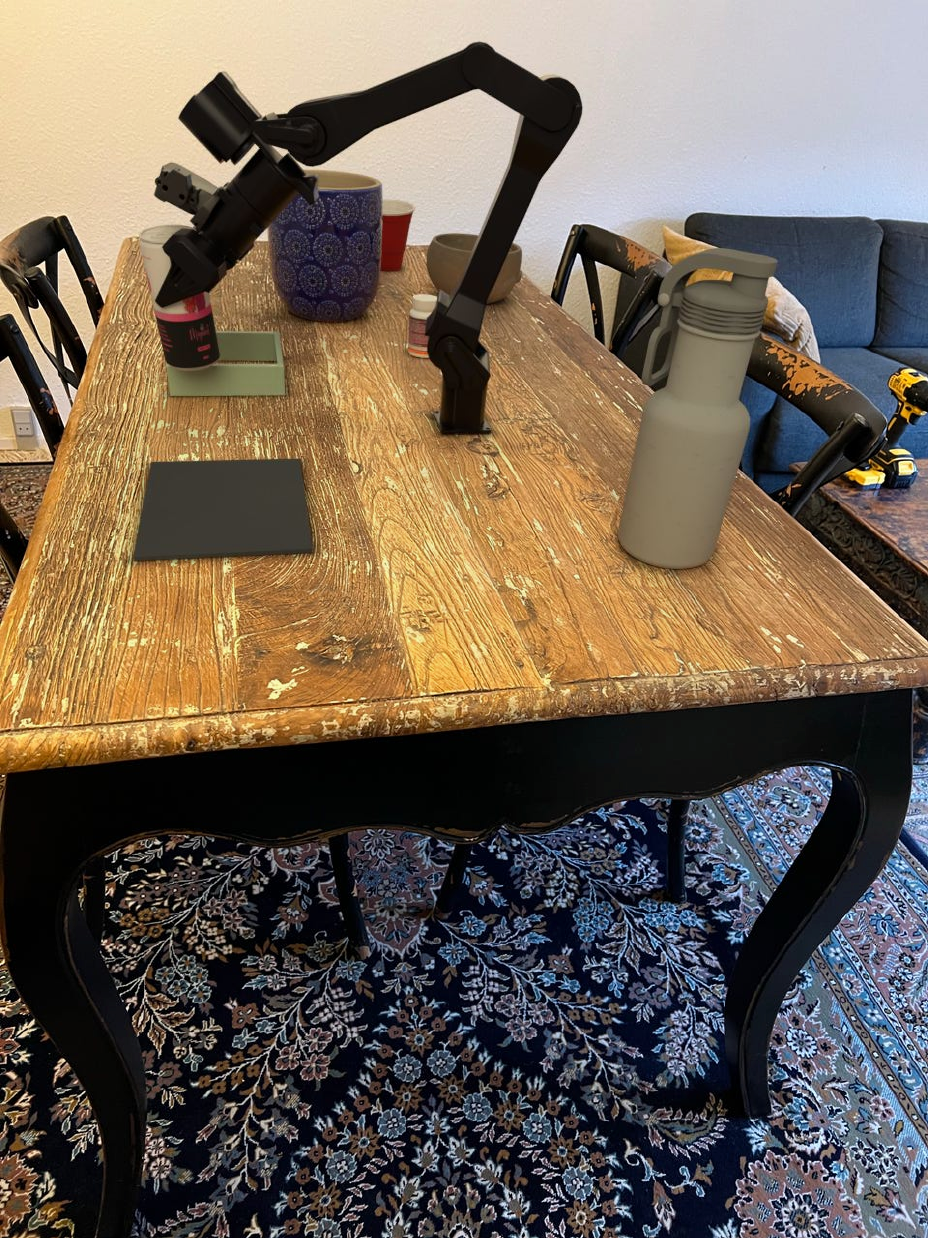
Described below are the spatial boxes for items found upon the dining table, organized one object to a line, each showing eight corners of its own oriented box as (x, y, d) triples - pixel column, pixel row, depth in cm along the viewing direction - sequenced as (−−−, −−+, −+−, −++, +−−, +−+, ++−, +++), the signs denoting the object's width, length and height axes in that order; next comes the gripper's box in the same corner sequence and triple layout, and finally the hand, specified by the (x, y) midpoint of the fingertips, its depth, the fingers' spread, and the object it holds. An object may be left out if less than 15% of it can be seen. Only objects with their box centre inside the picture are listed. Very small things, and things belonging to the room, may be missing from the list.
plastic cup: (351, 269, 169) (351, 204, 162) (372, 258, 178) (372, 196, 171) (402, 277, 167) (404, 211, 160) (420, 266, 176) (423, 203, 169)
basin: (285, 395, 111) (283, 365, 109) (170, 396, 108) (166, 365, 106) (280, 358, 123) (279, 331, 120) (176, 358, 120) (172, 330, 117)
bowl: (526, 293, 164) (532, 238, 158) (505, 316, 149) (511, 257, 144) (441, 281, 167) (444, 226, 161) (413, 302, 152) (415, 243, 147)
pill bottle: (434, 360, 127) (437, 303, 122) (404, 355, 128) (406, 299, 123) (441, 350, 131) (444, 295, 126) (412, 346, 132) (414, 291, 127)
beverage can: (222, 369, 102) (199, 239, 92) (166, 374, 101) (136, 243, 91) (219, 347, 107) (196, 222, 97) (165, 352, 105) (137, 225, 96)
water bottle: (596, 548, 84) (653, 250, 68) (636, 513, 91) (696, 235, 75) (691, 584, 80) (777, 275, 64) (726, 544, 87) (810, 256, 70)
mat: (312, 552, 79) (312, 548, 79) (133, 561, 76) (133, 556, 76) (300, 462, 95) (300, 458, 95) (151, 465, 92) (150, 461, 91)
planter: (251, 317, 138) (241, 177, 126) (303, 292, 153) (299, 165, 141) (353, 335, 134) (352, 193, 122) (397, 308, 148) (400, 178, 137)
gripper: (217, 127, 97) (136, 225, 103) (169, 146, 81) (78, 259, 87) (289, 207, 101) (208, 296, 107) (257, 239, 86) (165, 340, 92)
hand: (167, 296), depth 98 cm, fingers closed on beverage can, 6 cm apart
